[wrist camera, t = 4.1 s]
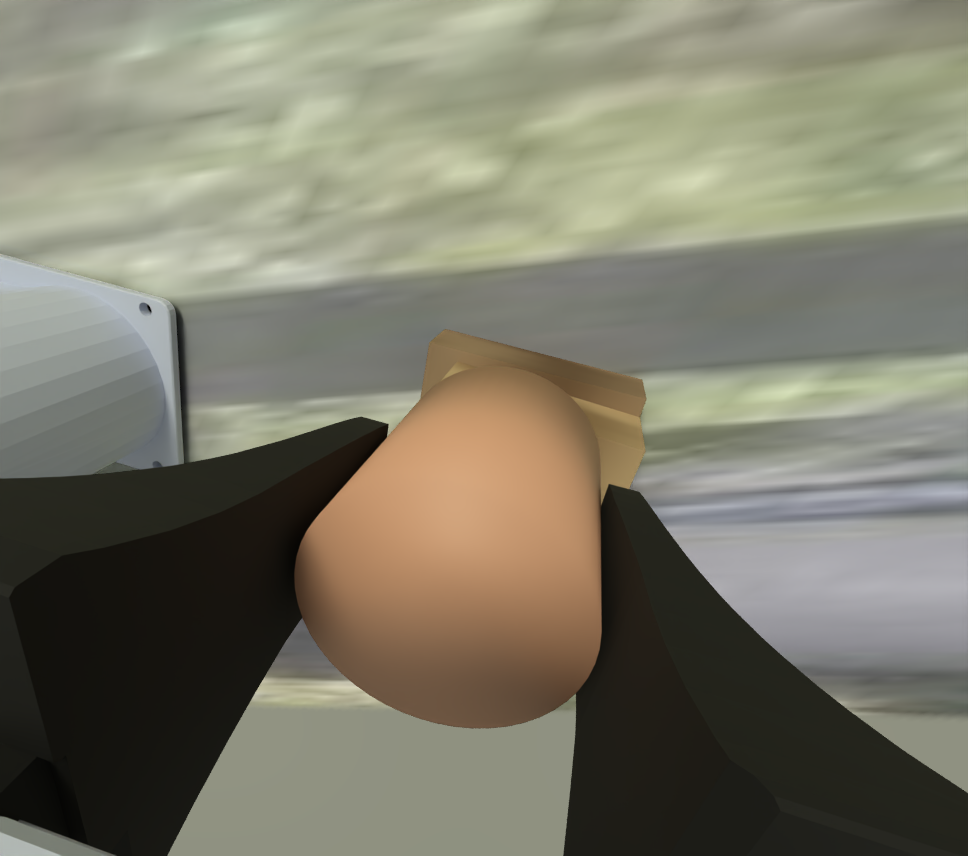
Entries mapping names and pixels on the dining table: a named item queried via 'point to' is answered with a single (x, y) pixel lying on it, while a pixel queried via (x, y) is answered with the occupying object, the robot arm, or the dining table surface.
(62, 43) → the dining table surface
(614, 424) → the oak top block
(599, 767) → the robot arm
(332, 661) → the terracotta cylinder
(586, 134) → the dining table surface
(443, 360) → the tan square slab
